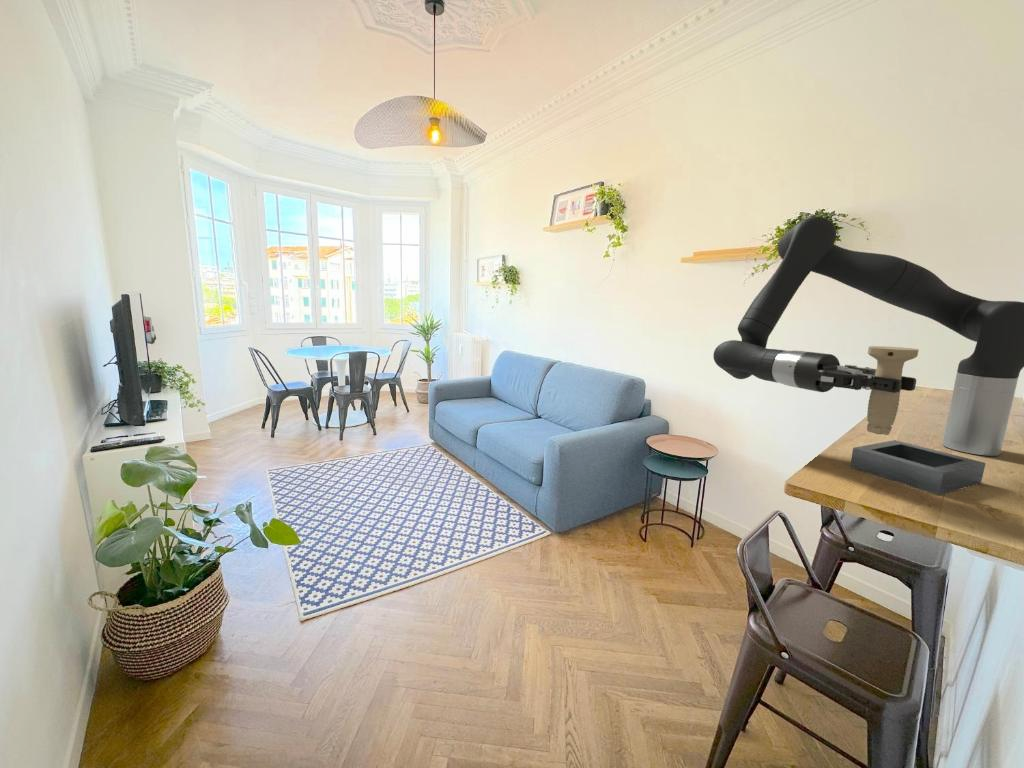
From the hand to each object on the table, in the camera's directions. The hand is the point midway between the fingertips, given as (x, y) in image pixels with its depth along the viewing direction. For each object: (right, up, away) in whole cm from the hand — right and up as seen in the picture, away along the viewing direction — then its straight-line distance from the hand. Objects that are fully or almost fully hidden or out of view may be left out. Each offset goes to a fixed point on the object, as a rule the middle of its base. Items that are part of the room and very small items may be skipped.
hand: (906, 385), depth 72 cm
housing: (+12, -17, +11) cm, 24 cm away
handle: (-1, -9, +4) cm, 10 cm away
